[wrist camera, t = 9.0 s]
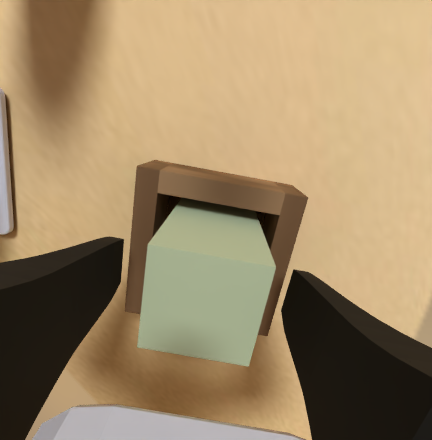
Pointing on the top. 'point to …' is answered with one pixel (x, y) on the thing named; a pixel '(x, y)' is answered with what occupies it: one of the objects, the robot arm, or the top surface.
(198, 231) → the pale green block
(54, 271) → the robot arm
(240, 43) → the top surface
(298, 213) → the socket block
